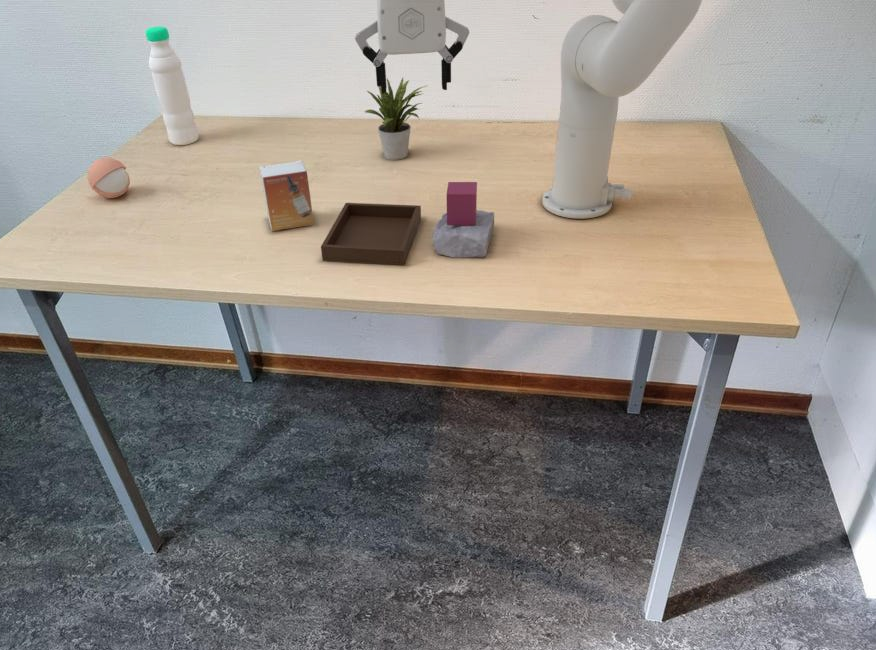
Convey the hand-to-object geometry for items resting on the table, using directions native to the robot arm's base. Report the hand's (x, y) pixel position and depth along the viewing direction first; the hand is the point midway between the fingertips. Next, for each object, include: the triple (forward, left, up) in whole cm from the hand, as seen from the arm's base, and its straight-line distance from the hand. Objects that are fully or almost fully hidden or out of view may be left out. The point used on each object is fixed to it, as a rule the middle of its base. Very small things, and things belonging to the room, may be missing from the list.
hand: (414, 89), depth 105 cm
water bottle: (+64, -38, -24) cm, 78 cm away
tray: (+7, +6, -24) cm, 26 cm away
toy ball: (+65, -7, -24) cm, 70 cm away
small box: (+24, +1, -24) cm, 34 cm away
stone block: (-9, +5, -24) cm, 26 cm away
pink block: (-8, +5, -20) cm, 22 cm away
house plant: (+10, -31, -24) cm, 40 cm away
